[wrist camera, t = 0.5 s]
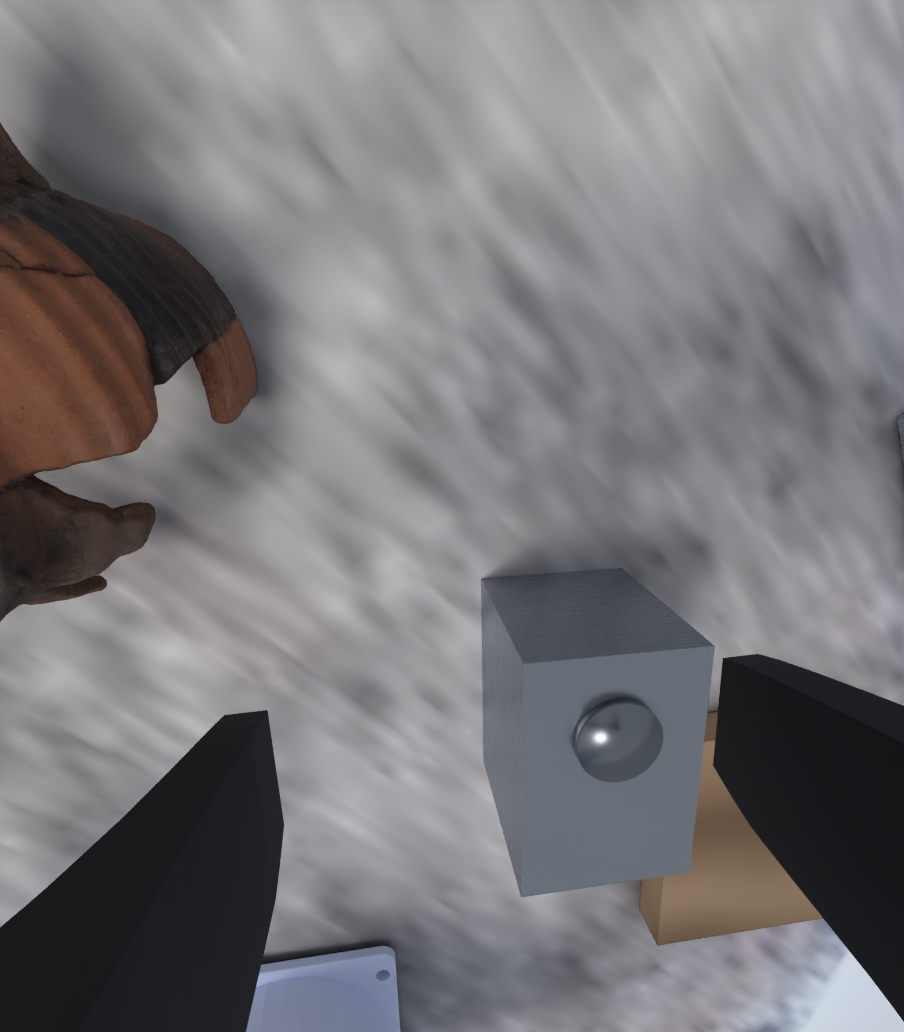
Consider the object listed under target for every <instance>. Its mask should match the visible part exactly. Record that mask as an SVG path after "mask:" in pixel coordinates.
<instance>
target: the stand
mask: <svg viewBox="0 0 904 1032" xmlns="http://www.w3.org/2000/svg"><path fill="white" fill-rule="evenodd" d="M717 717H718V712H711V713H707V718H706V727H705V737H704V746H703V755H702V764H701V773H700V782H699V791H698V800H697V809H696V818H695V828H694V837H693V846H692V855H691V864H690V873H683V874H676V875H669V876H662V877H656V878H649V879H642V886H641V899H640V911H641V913H642V915H643V917H644V919H645V921H646V924H647V926H648V928H649V930H650V932H651V934H652V936H653V938H654V940H655V942H656V944H657V946H658V945H664V944H670V943H676V942H682V941H688V940H694V939H700V938H706V937H712V936H718V935H724V934H730V933H737V932H743V931H749V930H755V929H761V928H767V927H773V926H779V925H785V924H791V923H797V922H803V921H809V920H815V919H821V918H823V917H822V916H821V915H820V914H819V912H818V911H817V910H816V909H815V907H814V906H813V905H812V904H811V902H810V901H809V900H808V899H807V897H806V896H805V895H804V894H803V892H802V891H801V890H800V889H799V887H798V886H797V885H796V884H795V882H794V881H793V880H792V879H791V877H790V876H789V875H788V874H787V872H786V871H785V870H784V869H783V867H782V866H781V865H780V863H779V862H778V861H777V860H776V858H775V857H774V856H773V855H772V853H771V852H770V851H769V850H768V848H767V847H766V846H765V844H764V843H763V842H762V841H761V839H760V838H759V837H758V835H757V834H756V833H755V832H754V830H753V829H752V828H751V826H750V825H749V823H748V822H747V820H746V819H745V817H744V816H743V814H742V812H741V811H740V809H739V808H738V806H737V805H736V803H735V802H734V800H733V798H732V797H731V795H730V793H729V792H728V790H727V788H726V787H725V785H724V783H723V782H722V780H721V778H720V777H719V775H718V773H717V771H716V770H715V768H714V766H713V759H714V748H715V738H716V727H717Z"/></svg>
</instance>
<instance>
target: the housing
mask: <svg viewBox="0 0 904 1032" xmlns="http://www.w3.org/2000/svg"><path fill="white" fill-rule="evenodd" d="M481 603H482V679H483V756H484V764H485V768H486V772H487V775H488V779H489V783H490V786H491V790H492V793H493V797H494V801H495V804H496V808H497V811H498V815H499V819H500V822H501V826H502V829H503V833H504V837H505V840H506V844H507V848H508V851H509V855H510V858H511V862H512V866H513V869H514V873H515V876H516V880H517V884H518V887H519V891H520V894H521V897H526V896H533V895H540V894H546V893H553V892H560V891H567V890H574V889H580V888H587V887H594V886H601V885H608V884H615V883H621V882H628V881H635V880H642V879H649V878H656V877H662V876H669V875H676V874H683V873H690V864H691V855H692V846H693V837H694V828H695V818H696V809H697V800H698V791H699V782H700V773H701V764H702V755H703V746H704V737H705V727H706V718H707V709H708V700H709V691H710V682H711V673H712V664H713V655H714V645H713V644H712V643H710V642H709V641H708V640H707V639H706V638H704V637H703V636H702V635H701V634H700V633H699V632H697V631H696V630H695V629H694V628H693V627H691V626H690V625H689V624H688V623H687V622H685V621H684V620H683V619H682V618H681V617H679V616H678V615H677V614H676V613H675V612H673V611H672V610H671V609H670V608H669V607H667V606H666V605H665V604H664V603H663V602H661V601H660V600H659V599H658V598H657V597H655V596H654V595H653V594H652V593H651V592H650V591H648V590H647V589H646V588H645V587H644V586H642V585H641V584H640V583H639V582H638V581H636V580H635V579H634V578H633V577H632V576H630V575H629V574H628V573H627V572H626V571H624V570H623V569H622V568H617V569H604V570H591V571H578V572H565V573H552V574H538V575H525V576H512V577H499V578H486V579H481Z"/></svg>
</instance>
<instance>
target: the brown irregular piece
mask: <svg viewBox="0 0 904 1032" xmlns="http://www.w3.org/2000/svg"><path fill="white" fill-rule="evenodd" d="M191 357H193V359H194V362H195V364H196V367H197V369H198V371H199V373H200V375H201V378H202V382H203V385H204V387H205V391H206V395H207V399H208V402H209V407H210V412H211V417H212V419H213V420H214V421H215V422H217V423H221V424H228V423H231V422H233V421H234V420H236V419H237V418H238V417H239V416H240V414H241V412H242V410H243V409H244V407H245V406H246V405H247V404H248V403H249V401H250V400H251V398H253V397H254V396H255V394H256V392H257V388H258V384H257V374H256V366H255V362H254V358H253V355H252V351H251V347H250V344H249V342H248V339H247V337H246V335H245V332H244V330H243V328H242V325H241V323H240V322H239V320H238V319H237V317H236V314H235V311H234V309H233V307H232V305H231V303H230V302H229V300H228V298H227V297H226V296H225V294H224V293H223V291H222V290H221V289H220V287H219V286H218V284H217V283H216V281H215V280H214V278H213V277H212V275H211V274H210V273H209V272H208V271H207V270H206V269H205V268H204V267H203V266H202V265H201V264H200V263H199V262H198V261H197V260H196V259H195V258H194V257H193V256H192V255H191V254H190V253H189V252H188V251H187V250H186V249H185V248H184V247H182V246H181V245H180V244H178V243H177V242H176V241H175V240H173V239H172V238H171V237H169V236H168V235H166V234H164V233H163V232H161V231H159V230H157V229H154V228H152V227H150V226H147V225H145V224H143V223H141V222H139V221H136V220H133V219H131V218H128V217H125V216H122V215H118V214H115V213H112V212H109V211H107V210H104V209H102V208H99V207H97V206H95V205H92V204H89V203H86V202H84V201H81V200H78V199H76V198H73V197H71V196H69V195H67V194H65V193H63V192H61V191H57V190H53V189H51V188H50V186H49V183H48V182H47V180H46V179H45V178H44V177H43V176H42V175H41V174H39V173H38V172H37V171H36V170H35V169H34V168H33V167H32V166H31V165H30V164H29V163H28V161H27V160H26V159H25V158H24V157H23V155H22V154H21V153H20V151H19V150H18V148H17V147H16V146H15V144H14V143H13V142H12V140H11V138H10V136H9V135H8V134H7V132H6V131H5V129H4V128H3V126H2V125H1V123H0V622H1V620H2V619H3V618H4V617H5V616H6V615H7V614H8V613H9V612H10V611H12V610H13V609H15V608H16V607H17V606H19V605H22V604H28V605H34V604H43V603H49V602H54V601H61V600H67V599H72V598H76V597H79V596H82V595H85V594H88V593H92V592H96V591H101V590H103V589H104V588H105V587H106V586H107V581H106V579H104V578H103V577H102V576H99V575H98V574H100V573H101V572H102V571H104V570H105V569H106V568H108V567H109V566H110V565H111V564H112V563H113V562H114V561H115V560H116V559H117V558H119V557H120V556H123V555H126V554H129V553H132V552H134V551H137V550H138V549H140V548H141V547H142V546H143V545H144V544H145V543H146V541H147V539H148V536H149V534H150V532H151V528H152V526H153V524H154V521H155V509H154V507H153V506H152V505H151V504H148V503H142V502H139V503H132V504H128V505H124V506H120V507H117V508H114V509H113V508H110V507H108V506H107V505H105V504H102V503H97V502H92V501H88V500H85V499H82V498H79V497H76V496H73V495H70V494H67V493H64V492H63V491H61V490H60V489H58V488H56V487H55V486H53V485H50V484H48V483H46V482H44V481H42V480H40V479H38V478H37V477H35V476H34V474H35V473H38V472H42V471H52V470H58V469H63V468H66V467H69V466H71V465H74V464H78V463H85V462H90V461H94V460H99V459H103V458H106V457H111V456H117V455H122V454H126V453H130V452H133V451H135V450H137V449H138V448H139V447H140V444H141V443H142V441H143V440H145V439H146V438H147V437H148V435H149V434H150V433H151V432H152V430H153V427H154V425H155V423H156V421H157V418H158V411H157V403H156V396H155V392H154V386H155V385H160V384H164V383H166V382H167V381H168V380H169V379H170V378H171V377H172V376H173V375H174V374H175V373H176V372H177V371H178V370H179V368H180V367H181V366H182V365H183V364H184V363H185V362H186V361H187V360H189V359H190V358H191ZM95 575H97V576H95Z"/></svg>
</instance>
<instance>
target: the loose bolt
mask: <svg viewBox="0 0 904 1032" xmlns="http://www.w3.org/2000/svg"><path fill="white" fill-rule="evenodd" d="M897 420H898V427H899V434H900V441H901V448H902V455H903V462H904V413H903V414H901V415H900V416H899V417H898V419H897Z"/></svg>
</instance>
